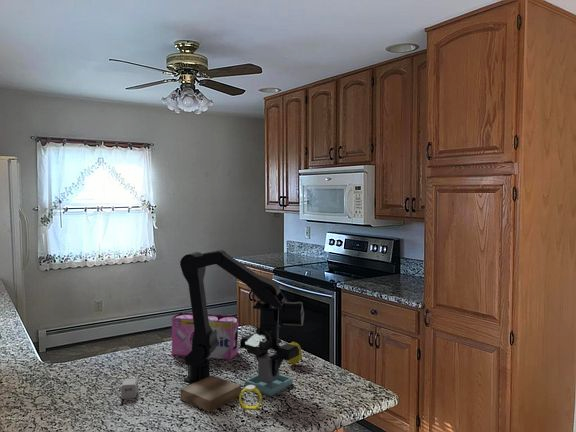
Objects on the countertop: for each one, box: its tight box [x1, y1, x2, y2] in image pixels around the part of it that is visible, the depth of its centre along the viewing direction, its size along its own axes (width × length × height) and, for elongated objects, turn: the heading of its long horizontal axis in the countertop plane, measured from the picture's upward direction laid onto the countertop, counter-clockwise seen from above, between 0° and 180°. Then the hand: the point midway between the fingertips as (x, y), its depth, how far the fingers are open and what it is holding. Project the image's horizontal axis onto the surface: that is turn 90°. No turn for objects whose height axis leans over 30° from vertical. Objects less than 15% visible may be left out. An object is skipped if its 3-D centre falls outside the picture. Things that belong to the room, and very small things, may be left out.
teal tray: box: [244, 373, 293, 397], centre depth 136 cm, size 10×10×2 cm
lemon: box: [286, 341, 303, 366], centre depth 153 cm, size 6×6×8 cm
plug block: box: [257, 352, 280, 384], centre depth 136 cm, size 4×5×7 cm
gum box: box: [171, 311, 240, 360], centre depth 163 cm, size 24×8×14 cm, turn 78°
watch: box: [238, 385, 263, 410], centre depth 122 cm, size 6×3×6 cm, turn 85°
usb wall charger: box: [120, 377, 139, 400], centre depth 131 cm, size 4×7×4 cm, turn 11°
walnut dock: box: [179, 374, 242, 412], centre depth 128 cm, size 12×12×3 cm
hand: (268, 374), depth 136 cm, fingers closed on plug block, 4 cm apart
